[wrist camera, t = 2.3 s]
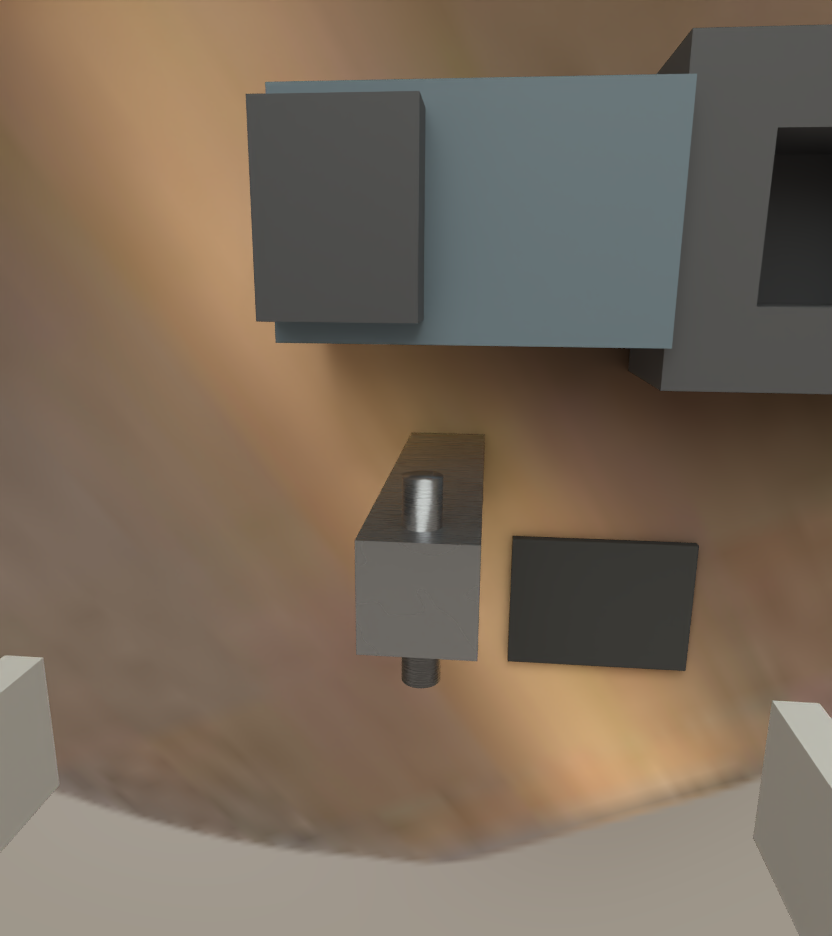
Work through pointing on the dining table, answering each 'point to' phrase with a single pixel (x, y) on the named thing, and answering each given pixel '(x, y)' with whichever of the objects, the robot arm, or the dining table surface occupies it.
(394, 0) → the dining table surface
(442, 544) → the gray block with peg
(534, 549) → the mat
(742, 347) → the block with square socket
